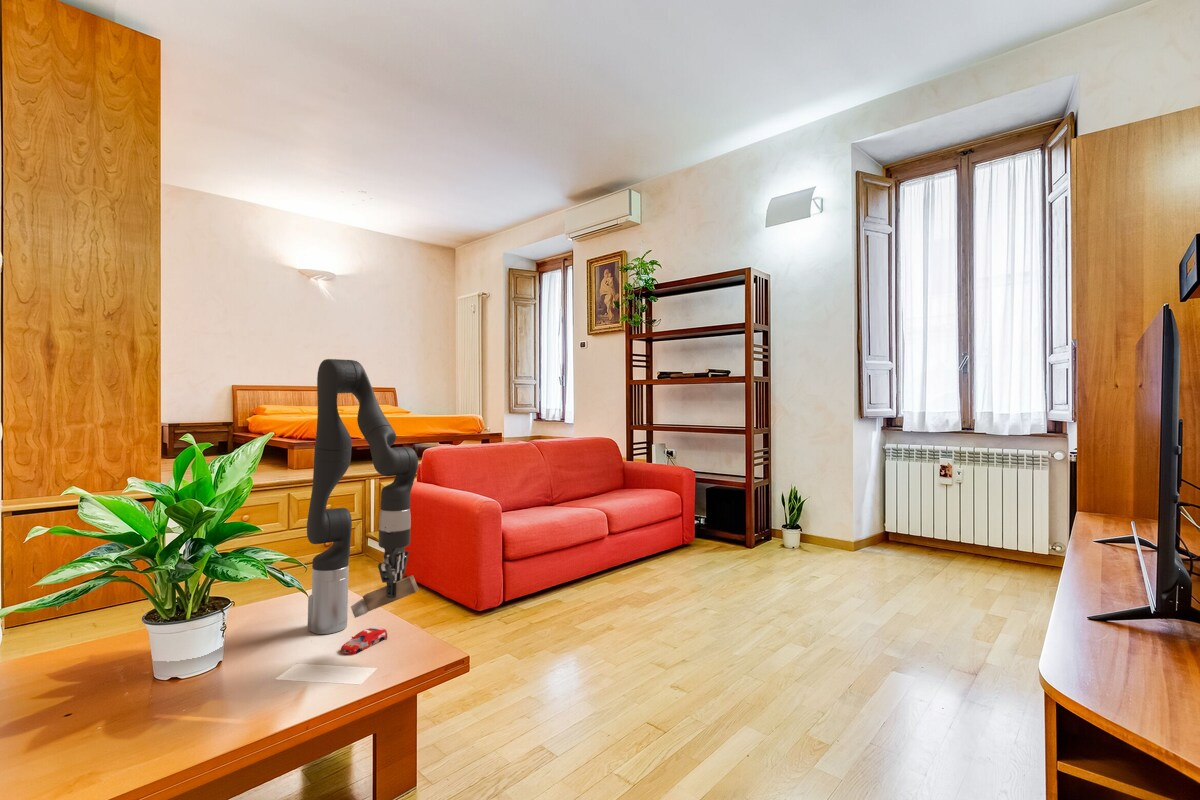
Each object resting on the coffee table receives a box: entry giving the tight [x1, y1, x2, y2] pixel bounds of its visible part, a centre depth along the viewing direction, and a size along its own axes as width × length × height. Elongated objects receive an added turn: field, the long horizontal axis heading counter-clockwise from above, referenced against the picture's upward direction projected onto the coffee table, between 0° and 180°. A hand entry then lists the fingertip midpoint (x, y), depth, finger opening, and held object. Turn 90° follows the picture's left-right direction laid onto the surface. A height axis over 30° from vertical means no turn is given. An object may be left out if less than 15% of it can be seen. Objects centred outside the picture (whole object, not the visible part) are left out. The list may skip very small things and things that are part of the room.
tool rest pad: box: [274, 663, 378, 686], centre depth 133 cm, size 20×8×1 cm, turn 85°
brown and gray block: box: [350, 574, 420, 619], centre depth 145 cm, size 16×5×4 cm, turn 87°
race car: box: [340, 627, 388, 656], centre depth 149 cm, size 13×5×4 cm, turn 156°
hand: (393, 595), depth 144 cm, fingers closed on brown and gray block, 2 cm apart
